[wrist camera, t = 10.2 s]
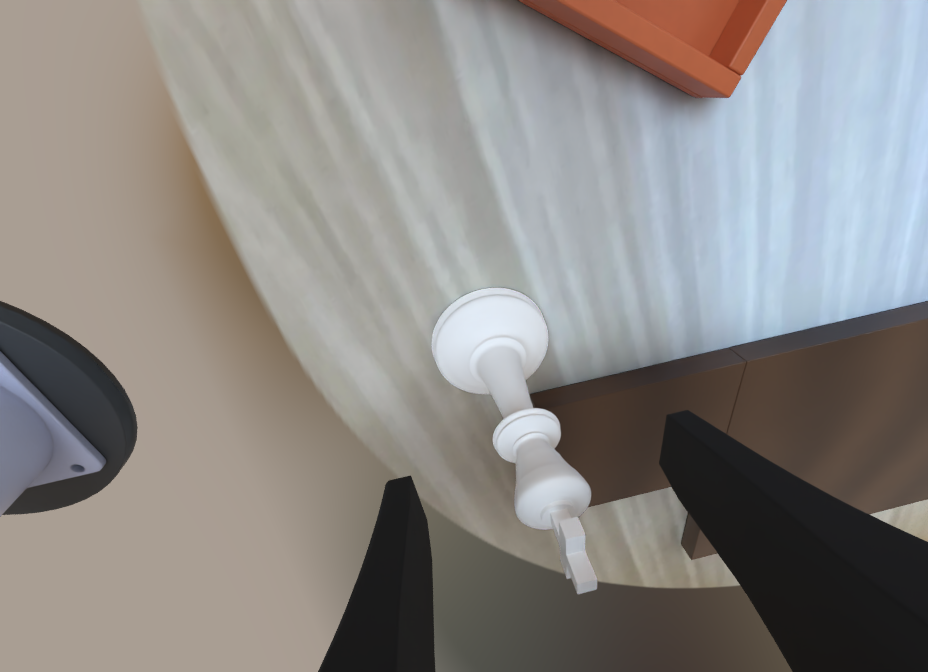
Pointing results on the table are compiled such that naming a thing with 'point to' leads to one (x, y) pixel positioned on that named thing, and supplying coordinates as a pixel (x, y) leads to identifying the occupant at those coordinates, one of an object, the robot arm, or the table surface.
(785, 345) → the walnut board
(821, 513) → the robot arm
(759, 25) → the clay tray
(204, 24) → the table surface
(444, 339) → the chess piece
